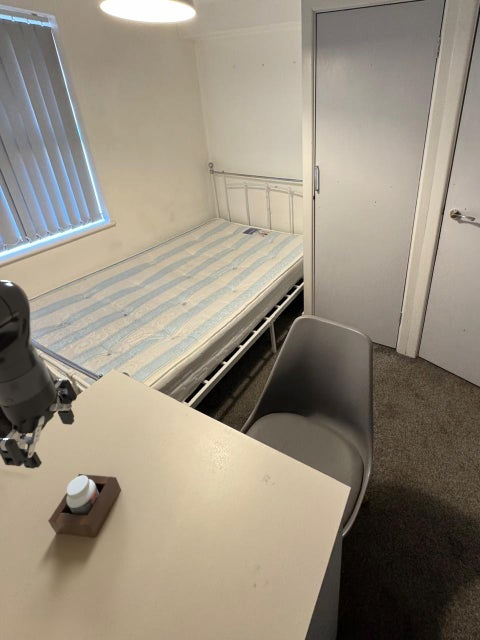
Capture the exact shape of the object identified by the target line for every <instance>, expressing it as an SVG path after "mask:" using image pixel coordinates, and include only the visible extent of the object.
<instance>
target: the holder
mask: <svg viewBox="0 0 480 640" xmlns="http://www.w3.org/2000/svg"><path fill="white" fill-rule="evenodd" d="M81 475H85V476H87V477H88V479H90V480H92V481H93V482H94V483H95V485H96V487H97V489H98V492H99V496H98V498H97V500H96V501H95V503H94V505H93V507H92V508H91V510H90V512H89V514H88V515H77V514H73V513H72V511H71V510H70V508H69V506H68V504H67V495H68V494H67V492H66V493H65V494H64V496H63V497H62V499H61V501H60V502H59V504H58V505H57V507H56V508H55V510H54V511H53V513H52V515H51V516H50V518H49V519H48V523H49V525H50V526H51V528H52V530H53V531H54V533H55V534H58V535H59V534H60V535H66V536H67V535H69V536H76V537H85V538H95V539H96V538H97V536H98V534H99V533H100V531H101V529H102V527H103V525H104V523H105V521H106V520H107V518H108V516H109V514H110V512H111V510H112V508H113V506H114V504H115V502H116V500H117V499H118V496H119V495H120V493H121V491H122V489H121V485H120V484H119V481H118V479H117V477H116V476H106V475H95V474H84V473H79V474H78V475H77V476H76V477H78V476H81Z"/></svg>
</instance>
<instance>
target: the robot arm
mask: <svg viewBox="0 0 480 640" xmlns="http://www.w3.org/2000/svg"><path fill="white" fill-rule="evenodd" d="M31 327H32V326H31V304H30V300H29V297H28V295H27V293H26V292H25V290H24V289H23V288H22V287H21V286H20V285H19V284H17V283H15V282H13V281H10V280H5V279H0V408H1V410H2V411H3V414H4V415H5V417H6V418H7V420H8V421H10V422H11V423H12V428H11V431H10V432H9V433H8V434H7V435H6V436H5V437H0V457H1V460H2V461H3V463H4V465H5V466H14V467H21V466H22V465H23V466H24V467H25V468H26V469H35V468H40V466H41V465H42V464H43V462H42V460H41V458H40V457H39V455H38V453H37V451H35V449H36V445H37V442H39V441H40V437H41V432H42V431H43V430H44V428H45V427H46V425H47V424H48V423H49V422H50V421H51V420H52V419H53V418H54V417H55V412H56V413H57V415H58V417H59V419H60V421H61V423H62V424H63V425H70V426H72V425H73V423H74V422H75V414H74V411H73V410H72V407H73V405H72V404H73V402H75V401H76V400H77V398H78V394H77V393H76V390H75V389H74V388H73V387H74V386H73V385H72V384H71V381H70V380H69V379H65V378H55V379H54V381H53V379H52V377H51V375H50V373H49V370H48V368H47V366H46V364H45V362H44V361H43V360H42V358H41V357H40V355H39V353H38V350H37V348H36V346H35V344H34V342H33V340H32V328H31ZM58 397H60V398H61V402H58ZM27 434H32V435H31V436H27ZM26 446H27V447H26Z"/></svg>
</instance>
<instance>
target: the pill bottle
mask: <svg viewBox="0 0 480 640" xmlns="http://www.w3.org/2000/svg"><path fill="white" fill-rule="evenodd" d="M85 475H86V474H85ZM85 475H81V476H78V475H77V476H78V477H77V476H76V477H75V478H74V479H72V480H71V481H70V482H69V483H68V485H67V487H66V493H67V494H68V495H67V504H68V506H69V508H70V510H71V511H72V513H73V514H77V515H88V514H89V512H90V510H91V508H92V507H93V505H94V503H95V501H96V500H97V498H98V496H99V492H98V489H97V487H96V485H95V483H94V482H93V481H92V480H90V479H88V477H87V476H85Z"/></svg>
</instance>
